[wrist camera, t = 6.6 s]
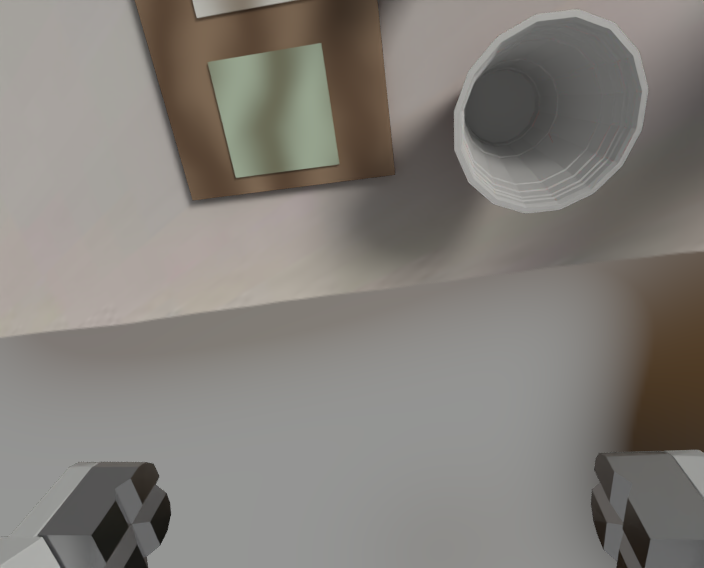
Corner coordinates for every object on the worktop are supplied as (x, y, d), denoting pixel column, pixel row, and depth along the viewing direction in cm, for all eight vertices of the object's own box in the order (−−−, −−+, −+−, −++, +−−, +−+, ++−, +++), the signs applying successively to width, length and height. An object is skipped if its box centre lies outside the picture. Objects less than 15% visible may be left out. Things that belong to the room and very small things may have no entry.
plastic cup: (552, 182, 38) (616, 225, 27) (424, 169, 38) (437, 205, 28) (592, 36, 33) (690, 17, 23) (446, 23, 34) (473, -3, 23)
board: (356, -203, 29) (355, -215, 28) (394, 172, 39) (395, 175, 37) (100, -142, 31) (89, -151, 30) (197, 197, 41) (191, 201, 40)
